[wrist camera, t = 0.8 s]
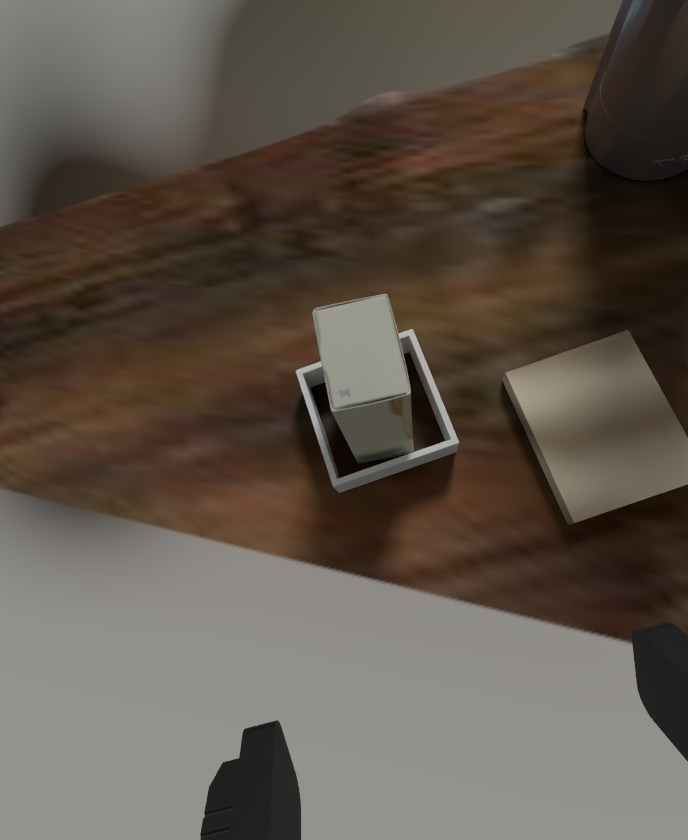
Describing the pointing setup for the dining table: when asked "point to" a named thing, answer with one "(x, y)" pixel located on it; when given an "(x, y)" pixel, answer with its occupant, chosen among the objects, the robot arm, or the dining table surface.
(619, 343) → the birch board
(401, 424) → the skincare box
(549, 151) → the dining table surface
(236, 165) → the dining table surface
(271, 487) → the dining table surface
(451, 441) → the gray square frame
